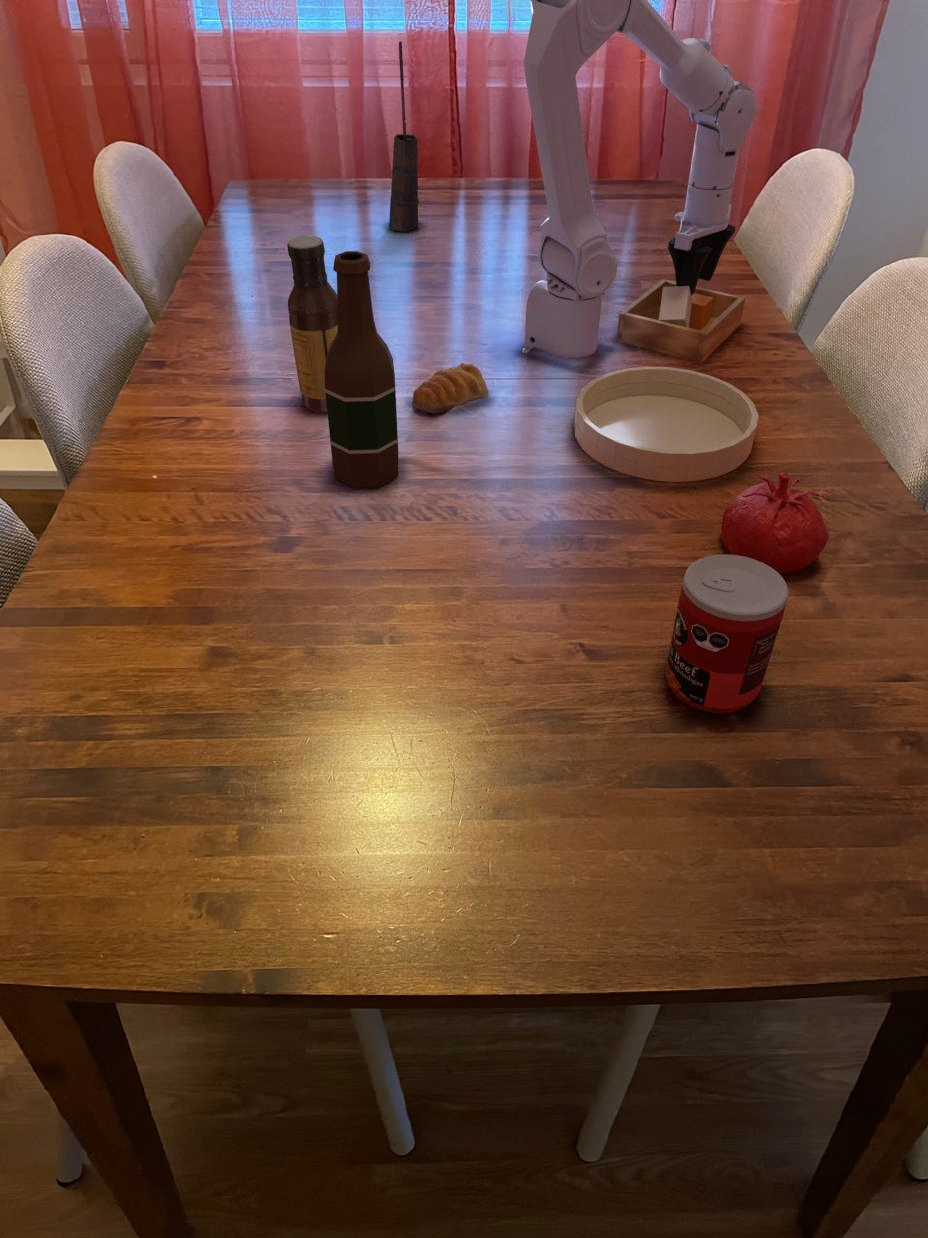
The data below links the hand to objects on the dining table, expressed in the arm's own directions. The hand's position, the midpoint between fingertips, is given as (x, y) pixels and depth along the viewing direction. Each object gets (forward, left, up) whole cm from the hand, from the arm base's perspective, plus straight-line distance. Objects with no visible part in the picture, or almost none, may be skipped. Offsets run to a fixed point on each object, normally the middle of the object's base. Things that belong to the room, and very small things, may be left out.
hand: (694, 286), depth 132 cm
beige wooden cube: (0, -5, -3) cm, 6 cm away
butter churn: (-57, +11, -6) cm, 58 cm away
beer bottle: (-15, -56, -6) cm, 58 cm away
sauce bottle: (-29, -46, -6) cm, 55 cm away
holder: (0, -3, -6) cm, 6 cm away
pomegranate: (+28, -47, -6) cm, 55 cm away
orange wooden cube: (0, 0, -5) cm, 5 cm away
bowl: (+10, -32, -6) cm, 34 cm away
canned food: (+30, -67, -6) cm, 74 cm away
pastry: (-16, -37, -6) cm, 41 cm away
